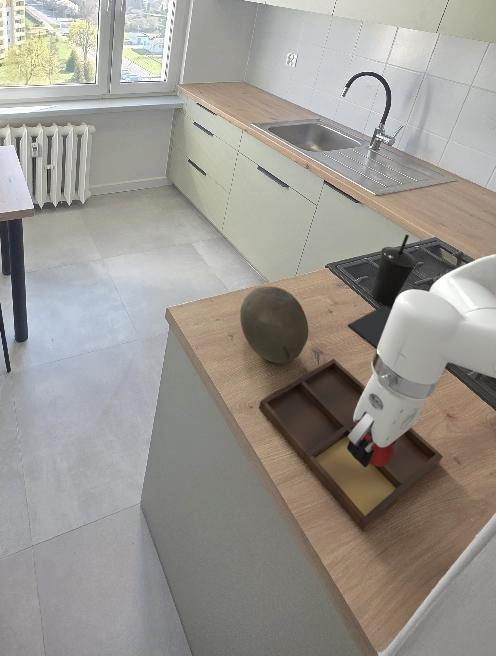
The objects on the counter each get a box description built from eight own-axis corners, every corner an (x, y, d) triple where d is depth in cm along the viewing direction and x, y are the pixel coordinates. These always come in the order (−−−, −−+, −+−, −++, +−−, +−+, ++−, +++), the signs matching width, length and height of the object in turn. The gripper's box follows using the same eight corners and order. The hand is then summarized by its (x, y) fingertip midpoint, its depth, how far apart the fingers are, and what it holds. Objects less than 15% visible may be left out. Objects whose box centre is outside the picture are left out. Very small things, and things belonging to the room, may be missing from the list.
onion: (356, 431, 72) (368, 400, 69) (392, 461, 68) (407, 430, 64) (339, 452, 69) (351, 421, 65) (376, 485, 64) (391, 454, 61)
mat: (453, 356, 93) (454, 354, 93) (417, 381, 87) (418, 379, 87) (382, 307, 106) (383, 305, 106) (347, 326, 100) (348, 324, 100)
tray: (438, 463, 73) (443, 456, 72) (362, 531, 64) (366, 524, 63) (331, 365, 90) (333, 358, 89) (258, 407, 81) (260, 400, 80)
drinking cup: (394, 314, 104) (421, 249, 96) (361, 296, 109) (384, 234, 101) (403, 299, 109) (429, 236, 101) (371, 283, 114) (394, 222, 106)
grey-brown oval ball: (305, 342, 95) (321, 291, 89) (292, 389, 84) (309, 336, 78) (244, 314, 102) (255, 265, 96) (225, 355, 91) (235, 303, 85)
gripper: (394, 420, 53) (358, 500, 60) (465, 366, 60) (425, 443, 68) (341, 372, 59) (313, 450, 66) (411, 328, 66) (379, 403, 74)
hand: (370, 446), depth 67 cm, fingers closed on onion, 6 cm apart
